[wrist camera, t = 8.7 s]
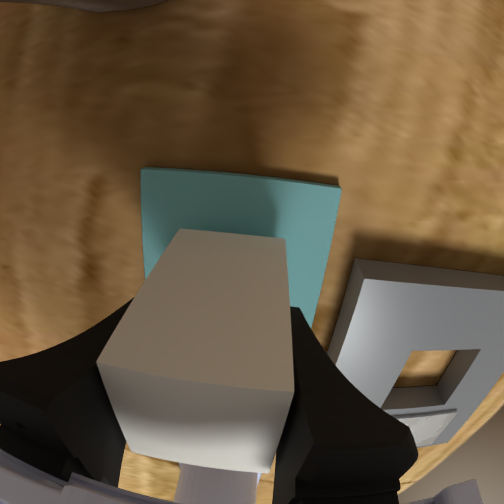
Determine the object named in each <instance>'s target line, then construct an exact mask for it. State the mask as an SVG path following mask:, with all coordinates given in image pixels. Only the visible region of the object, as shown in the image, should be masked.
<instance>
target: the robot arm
mask: <svg viewBox="0 0 504 504" xmlns="http://www.w3.org/2000/svg"><path fill="white" fill-rule="evenodd" d="M133 299H134V298H133ZM133 299H131V300H130V301H129V302H127V303H126V304H125V305H123V306H122V307H121V308H119V309H118V310H117V311H115V312H114V313H112V314H111V315H110V316H108V317H107V318H105V319H104V320H102V321H101V322H99V323H98V324H96V325H95V326H93V327H91V328H90V329H88V330H86V331H85V332H83V333H81V334H79V335H77V336H75V337H73V338H72V339H69V340H67V341H65V342H63V343H60V344H58V345H56V346H54V347H51V348H49V349H46V350H43V351H41V352H38V353H35V354H31V355H28V356H24V357H21V358H16V359H12V360H7V361H2V362H0V424H1V425H0V504H256V494H257V485H258V482H259V479H260V476H261V473H256V472H244V471H234V470H225V469H217V468H210V467H203V466H196V465H190V464H185V463H179V466H180V474H179V479H178V484H177V488H176V493H175V498H174V502H172V501H167V500H163V499H158V498H154V497H150V496H146V495H142V494H138V493H134V492H131V491H127V490H124V489H120V488H118V482H119V476H120V470H121V464H122V459H123V454H124V449H125V444H126V439H125V437H124V434H123V432H122V430H121V427H120V425H119V423H118V420H117V418H116V415H115V413H114V410H113V408H112V405H111V402H110V400H109V397H108V394H107V392H106V389H105V386H104V383H103V381H102V378H101V375H100V372H99V369H98V366H97V363H96V361H97V359H98V358H99V356H100V354H101V352H102V351H103V349H104V347H105V345H106V344H107V342H108V340H109V339H110V337H111V335H112V334H113V332H114V330H115V329H116V327H117V325H118V324H119V322H120V320H121V319H122V317H123V315H124V314H125V312H126V310H127V309H128V307H129V305H130V304H131V302H132V301H133ZM290 314H291V332H292V351H293V372H294V395H293V398H292V402H291V405H290V408H289V412H288V415H287V418H286V422H285V425H284V428H283V431H282V435H281V438H280V441H279V444H278V447H277V450H276V464H275V478H274V490H273V500H272V504H399V501H398V495H397V491H399V490H400V487H401V486H400V482H399V478H400V477H401V476H402V475H404V474H405V473H406V472H407V471H408V470H409V469H410V468H411V467H412V466H413V464H414V463H415V462H416V460H417V458H418V450H417V447H416V443H415V440H414V437H413V435H412V432H411V430H410V427H409V426H407V425H405V424H404V423H402V422H401V421H399V420H397V419H396V418H394V417H393V416H391V415H389V414H388V413H386V412H385V411H384V410H382V409H381V408H380V407H378V406H377V405H376V404H374V403H373V402H372V401H371V400H369V399H368V398H367V397H366V396H365V395H364V394H362V393H361V392H360V391H359V390H358V389H357V388H356V387H355V386H354V385H353V384H352V383H351V382H350V381H349V380H348V379H347V378H346V377H345V376H344V375H343V374H342V372H341V371H340V370H339V369H338V368H337V367H336V365H335V364H334V363H333V361H332V360H331V359H330V357H329V356H328V355H327V353H326V352H325V350H324V349H323V347H322V346H321V344H320V343H319V341H318V340H317V338H316V336H315V335H314V333H313V331H312V330H311V328H310V326H309V324H308V322H307V321H306V319H305V317H304V315H303V313H302V311H301V309H300V308H299V307H292V306H290ZM405 504H483V503H482V499H481V496H480V492H479V489H478V485H477V482H476V480H475V479H471V480H468V481H465V482H462V483H458V484H454V485H451V486H449V487H447V488H444V489H443V490H441V491H440V492H438V493H437V494H436V495H435V496H434V497H432V498H428V499H423V500H419V501H414V502H410V503H405Z"/></svg>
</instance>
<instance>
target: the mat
mask: <svg viewBox="0 0 504 504" xmlns="http://www.w3.org/2000/svg"><path fill="white" fill-rule="evenodd" d="M341 190H342V188H341V187H340V186H337V185H330V184H323V183H316V182H308V181H301V180H293V179H285V178H276V177H268V176H258V175H249V174H239V173H228V172H216V171H204V170H190V169H174V168H156V167H144V168H142V169H141V217H142V239H143V256H144V270H145V280H146V278H147V277H148V275H149V274H150V272H151V271H152V269H153V268H154V266H155V265H156V263H157V262H158V260H159V258H160V257H161V255H162V254H163V252H164V251H165V249H166V248H167V246H168V245H169V243H170V242H171V241H172V239H173V238H174V236H175V235H176V233H177V232H178V230H179V229H180V228H182V229H193V230H203V231H214V232H224V233H235V234H245V235H255V236H264V237H274V238H284V239H285V241H286V255H287V268H288V283H289V298H290V306H292V307H299V308H300V309H301V311H302V313H303V315H304V317H305V319H306V321H307V322H308V324H309V326H310V328H311V327H312V323H313V319H314V315H315V311H316V307H317V303H318V299H319V295H320V291H321V286H322V282H323V278H324V273H325V269H326V264H327V260H328V255H329V251H330V246H331V241H332V237H333V232H334V227H335V222H336V217H337V212H338V206H339V201H340V196H341Z"/></svg>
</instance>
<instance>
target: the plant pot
mask: <svg viewBox="0 0 504 504" xmlns="http://www.w3.org/2000/svg"><path fill="white" fill-rule="evenodd" d="M163 1H166V0H0V2H16V3H32V4H43V5H52V6H60V7H68V8H74V9H78V10H82V11H88V12H96V13H101V12H106V11H119V10H127V9H138V8H143V7H147V6H151V5H155V4H158V3H160V2H163Z"/></svg>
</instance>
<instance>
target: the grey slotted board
mask: <svg viewBox="0 0 504 504" xmlns="http://www.w3.org/2000/svg"><path fill="white" fill-rule="evenodd" d="M431 350H457V352H456V354H455V356H454V357H453V359H452V361H451V363H450V364H449V366H448V368H447V369H446V371H445V373H444V374H443V376H442V377H441V379H440V381H439V382H438V384H437V385H436V386H421V387H401V388H392V387H393V385H394V384H395V382H396V380H397V378H398V376H399V375H400V373H401V371H402V369H403V367H404V365H405V363H406V361H407V360H408V358H409V356H410V354H411V352H412V351H431ZM327 355H328V356H329V357H330V359H331V360H332V361H333V363H334V364H335V365H336V367H337V368H338V369H339V370H340V371H341V372H342V374H343V375H344V376H345V377H346V378H347V379H348V380H349V381H350V382H351V383H352V384H353V385H354V386H355V387H356V388H357V389H358V390H359V391H360V392H361V393H362V394H364V395H365V396H366V397H367V398H368V399H369V400H371V401H372V402H373V403H374V404H376V405H377V406H378V407H380V408H381V409H382V410H384V411H385V412H386V413H388V414H389V415H391V416H393V417H394V418H396V419H397V420H399V421H401V422H402V423H404V424H405V425H407V426H409V427H410V430H411V432H412V435H413V437H414V440H415V443H416V447H417V448H418V447H425V446H431V445H437V444H442V443H448V441H449V440H450V439H451V438H452V437H453V436H454V435H455V434H456V433H457V431H458V430H459V429H460V428H461V427H462V426H463V425H464V423H465V422H466V421H467V420H468V419H469V417H470V416H471V415H472V414H473V412H474V411H475V410H476V409H477V407H478V406H479V405H480V404H481V402H482V401H483V400H484V398H485V397H486V396H487V394H488V393H489V392H490V390H491V389H492V388H493V386H494V385H495V383H496V382H497V380H498V379H499V378H500V376H501V375H502V373H503V372H504V276H503V275H495V274H487V273H478V272H470V271H461V270H453V269H444V268H436V267H427V266H419V265H410V264H402V263H393V262H384V261H375V260H367V259H358V258H355V259H354V263H353V267H352V271H351V274H350V278H349V282H348V285H347V289H346V293H345V296H344V300H343V303H342V307H341V310H340V313H339V317H338V320H337V323H336V327H335V330H334V333H333V336H332V339H331V342H330V345H329V349H328V352H327Z"/></svg>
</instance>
